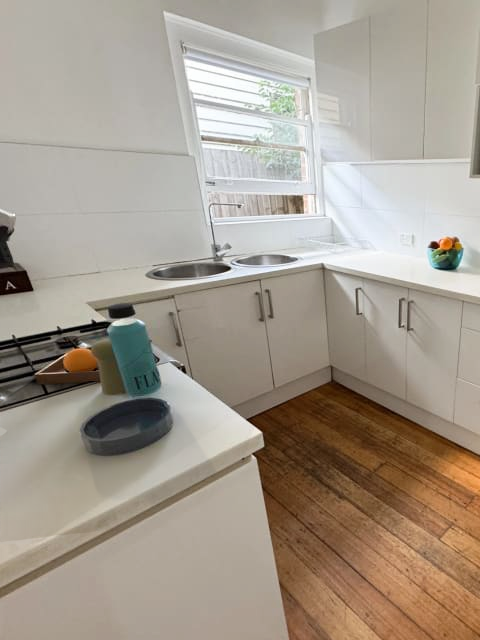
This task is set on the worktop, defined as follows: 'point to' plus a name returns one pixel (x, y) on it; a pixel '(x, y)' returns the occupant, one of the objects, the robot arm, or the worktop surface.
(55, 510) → the worktop surface
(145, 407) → the dish
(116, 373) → the cork
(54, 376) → the tray
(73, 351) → the tangerine
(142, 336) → the beverage bottle
